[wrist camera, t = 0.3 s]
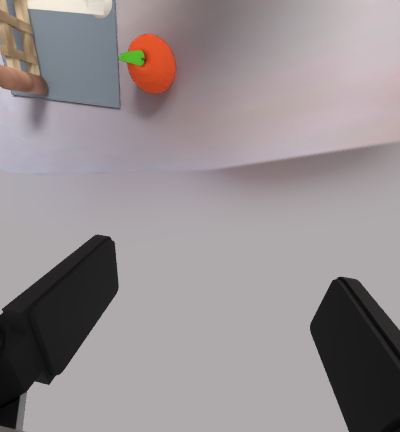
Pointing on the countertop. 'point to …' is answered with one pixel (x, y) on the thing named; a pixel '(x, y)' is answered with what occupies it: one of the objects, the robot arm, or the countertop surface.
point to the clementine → (150, 63)
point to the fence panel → (19, 52)
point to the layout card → (74, 49)
